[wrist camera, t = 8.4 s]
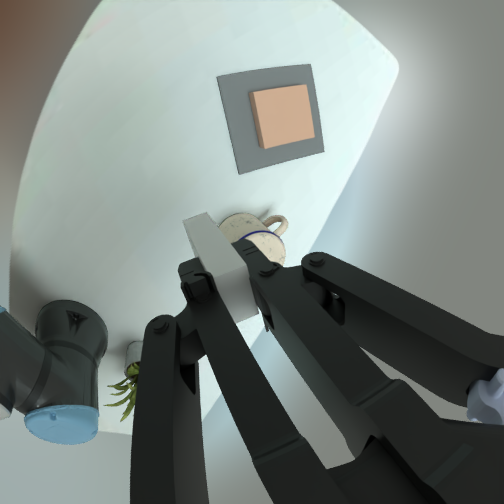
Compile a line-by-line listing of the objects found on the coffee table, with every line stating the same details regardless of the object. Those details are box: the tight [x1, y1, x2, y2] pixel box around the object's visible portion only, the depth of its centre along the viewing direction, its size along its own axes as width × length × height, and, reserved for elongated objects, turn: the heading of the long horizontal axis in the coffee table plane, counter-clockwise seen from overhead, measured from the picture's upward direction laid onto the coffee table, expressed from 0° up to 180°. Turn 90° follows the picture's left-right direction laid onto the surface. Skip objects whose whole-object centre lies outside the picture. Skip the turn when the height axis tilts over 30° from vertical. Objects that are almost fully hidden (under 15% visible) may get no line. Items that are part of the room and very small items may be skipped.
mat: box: [217, 64, 324, 175], centre depth 42 cm, size 16×16×1 cm
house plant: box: [104, 341, 143, 422], centre depth 45 cm, size 14×14×16 cm
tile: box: [249, 84, 315, 149], centre depth 41 cm, size 2×9×9 cm
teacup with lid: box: [219, 213, 288, 266], centre depth 45 cm, size 12×9×12 cm
